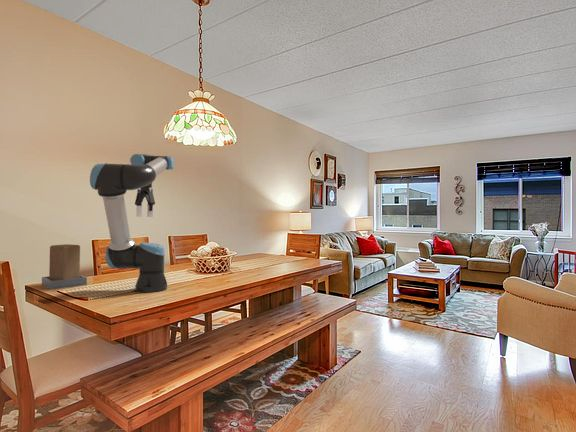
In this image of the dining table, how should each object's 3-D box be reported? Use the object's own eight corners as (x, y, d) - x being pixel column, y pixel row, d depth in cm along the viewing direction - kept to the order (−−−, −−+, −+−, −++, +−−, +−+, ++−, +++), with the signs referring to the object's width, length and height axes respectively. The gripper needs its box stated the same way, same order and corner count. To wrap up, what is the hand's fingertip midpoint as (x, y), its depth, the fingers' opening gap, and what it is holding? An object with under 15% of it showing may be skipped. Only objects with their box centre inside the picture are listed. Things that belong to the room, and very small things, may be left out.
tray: (86, 284, 174) (86, 277, 174) (50, 289, 162) (50, 281, 162) (76, 280, 185) (76, 273, 185) (41, 284, 172) (41, 277, 172)
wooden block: (62, 285, 167) (63, 246, 167) (48, 284, 170) (48, 245, 170) (80, 282, 176) (81, 244, 176) (66, 280, 179) (67, 244, 179)
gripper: (161, 180, 189) (160, 217, 189) (141, 182, 205) (140, 216, 205) (149, 179, 184) (148, 216, 183) (129, 181, 200) (128, 216, 200)
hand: (144, 216), depth 194 cm, fingers open, 13 cm apart
